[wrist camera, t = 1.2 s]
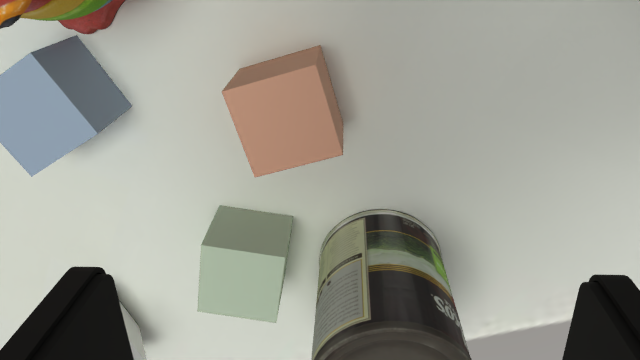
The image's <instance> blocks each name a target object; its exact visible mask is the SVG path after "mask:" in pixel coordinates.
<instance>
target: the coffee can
mask: <svg viewBox="0 0 640 360" xmlns="http://www.w3.org/2000/svg"><path fill="white" fill-rule="evenodd" d="M319 267H320V269H319V280H318V291H317V303H316V315H315V326H314V337H313V348H312V360H471V358H470V355H469V351H468V348H467V344H466V341H465V337H464V334H463V330H462V327H461V324H460V320H459V317H458V313H457V310H456V307H455V303H454V300H453V297H452V293H451V290H450V286H449V283H448V279H447V276H446V272H445V269H444V265H443V262H442V258H441V251H440V248H439V245H438V242H437V240H436V238H435V237H434V235H433V234H432V232H431V231H430V230H429V229H428V228H427V227H426V226H425V225H424V224H423V223H421V222H420V221H418V220H417V219H415V218H413V217H412V216H409V215H407V214H404V213H401V212H397V211H392V210H370V211H365V212H361V213H358V214H355V215H353V216H351V217H349V218H347V219H345V220H344V221H342V222H341V223H339V224H338V225H337V226H336V227H335V228H334V229H333V230H332V231H331V232H330V233H329V234H328V236H327V237H326V239H325V241H324V243H323V245H322V248H321V251H320V258H319Z"/></svg>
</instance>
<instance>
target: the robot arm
mask: <svg viewBox="0 0 640 360" xmlns="http://www.w3.org/2000/svg"><path fill="white" fill-rule="evenodd" d="M0 360H134V358H133V354H132V350H131V346H130V342H129V338H128V334H127V331H126V327H125V323H124V319H123V315H122V311H121V307H120V303H119V299H118V295H117V291H116V287H115V283H114V280H113V277H112V276H111V275H109V274H106V273H105V271H104V270H103V268H100V267H72V268H70V269H69V270H68V271H67V272H66V273H65V274H64V275H63V277H62V278H61V279H60V280H59V281H58V283H57V284H56V285H55V286H54V287H53V289H52V290H51V291H50V292H49V293H48V294H47V296H46V297H45V298H44V299H43V300H42V302H41V303H40V304H39V305H38V306H37V307H36V309H35V310H34V311H33V312H32V313H31V315H30V316H29V317H28V318H27V319H26V320H25V322H24V323H23V324H22V325H21V326H20V328H19V329H18V330H17V331H16V332H15V333H14V335H13V336H12V337H11V338H10V339H9V341H8V342H7V343H6V344H5V345H4V347H3V348H2V349H1V350H0ZM563 360H640V290H639V289H638V288H637V287H636V285H635V284H634V283H633V281H632V280H631V279H630V278H629V277H628V276H625V275H593V276H592V277H591V278H590V280H589V282H583V283H582V284H581V285H580V288H579V292H578V296H577V300H576V305H575V309H574V313H573V317H572V322H571V326H570V330H569V334H568V339H567V343H566V347H565V351H564V356H563Z"/></svg>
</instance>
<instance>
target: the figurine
mask: <svg viewBox="0 0 640 360" xmlns="http://www.w3.org/2000/svg"><path fill="white" fill-rule="evenodd" d="M119 303H120V301H119ZM120 307H121V311H122V315H123V319H124V323H125V327H126V331H127V334H128V338H129V342H130V346H131V350H132V354H133V358H134V360H147V359H146V355H145V350H144V346H143V341H142V337H141V332H140V327H139V326H138V325H137V323H136V322H135V321H134V319H133V318H132V317H131V316H130V314H129V313H128V312H127V310H126V309H125V308H124V306H123V305H122V304H121V303H120Z"/></svg>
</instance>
